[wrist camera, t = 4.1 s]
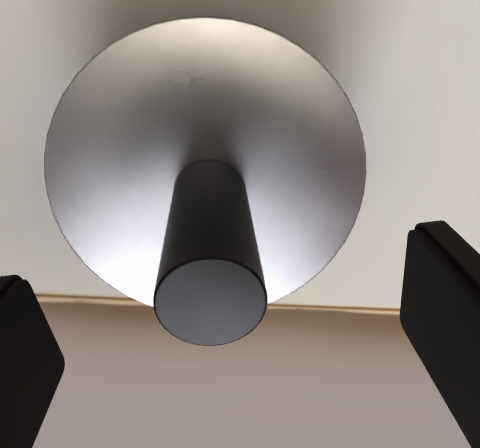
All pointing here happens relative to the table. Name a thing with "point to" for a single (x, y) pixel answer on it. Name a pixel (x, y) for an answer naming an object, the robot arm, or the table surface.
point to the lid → (205, 171)
